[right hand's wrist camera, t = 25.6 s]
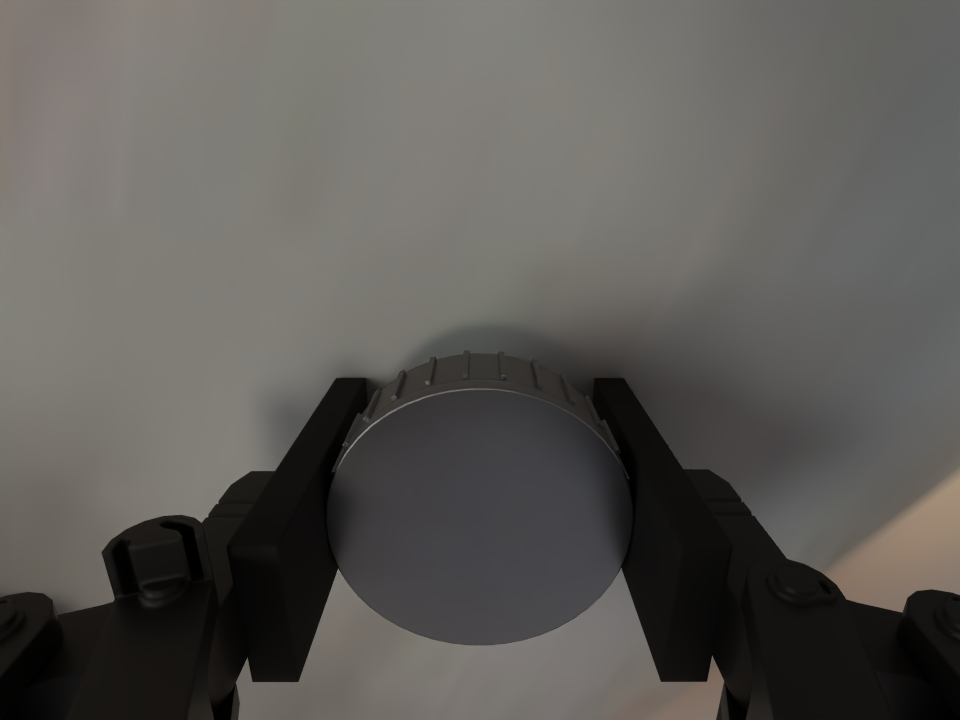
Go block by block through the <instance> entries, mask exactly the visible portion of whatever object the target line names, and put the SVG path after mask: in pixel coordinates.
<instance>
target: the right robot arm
mask: <svg viewBox="0 0 960 720" xmlns="http://www.w3.org/2000/svg"><path fill="white" fill-rule="evenodd" d="M593 406H594V408H595V410H596V412H597V414H598V416H599V418H600V420H601V421H602V420H605V421H606V422H607V425H608V427H609V429H610V431H611V433H612V435H613V437H614V439H615V441H616V443H617V445H618V448H619V450H620V452H621V453H620V454H619V456H620V458H621V460H622V463H623V465H624V467H625V469H626V471H627V473H628V475H629V478H630V481H631V483H629V484H630V488H631V493H632V498H633V503H634V525H633V533H632V539H631V542H630V546H629V549H628V553H627V556H626V558H625V560H624V562H623V565H622V567H621V568H622V571H623V574H624V576H625V579H626V582H627V585H628V588H629V591H630V594H631V597H632V599H633V602H634V605H635V608H636V611H637V614H638V617H639V620H640V622H641V625H642V628H643V631H644V634H645V637H646V640H647V643H648V646H649V648H650V651H651V654H652V657H653V660H654V663H655V666H656V669H657V671H658V674H659V677H660V680H661V682H707V679H708V674H709V668H710V663H711V658H712V656H713V658H714V660H715V662H716V664H717V666H718V668H719V670H720V673H721V675H722V677H723V679H724V685H723V690H722V694H721V699H720V704H719V709H718V713H717V718H716V720H960V595H957V594H954V593H950V592H944V591H938V590H923V591H916V592H915V593H913V594H912V595H911V596H909V597H908V598H907V601H906V604H905V607H904V610H903V613H901V612H896V611H892V610H887V609H883V608H879V607H874V606H870V605H865V604H861V603H857V602H853V601H850V600H846V599H845V597H844V595H843V594H842V592H841V591H840V589H839V588H838V586H837V585H836V584H835V583H834V582H832V581H831V580H830V579H829V578H827V577H826V576H825V575H824V574H823V573H821V572H819V571H817V570H815V569H813V568H811V567H809V566H807V565H805V564H802V563H799V562H795V561H792V560H789V559H787V558H786V557H785V556H784V554H783V553H782V552H781V550H780V549H779V548H778V546H777V545H776V544H775V543H774V541H773V540H772V539H771V537H770V536H769V535H768V533H767V532H766V531H765V529H764V528H763V527H762V526H761V524H760V523H759V522H758V520H757V519H756V518H755V516H752V515H751V511H750V510H749V509H748V507H747V506H746V505H745V503H744V502H741V498H740V497H739V496H738V494H737V493H736V492H735V490H734V489H733V488H732V486H731V485H730V484H729V483H728V482H727V481H725V480H724V479H722V478H721V477H719V476H718V475H716V474H715V473H713V472H712V471H710V470H709V469H683V468H682V467H681V465H680V464H679V462H678V461H677V459H676V458H675V456H674V455H673V453H672V451H671V450H670V448H669V447H668V445H667V444H666V442H665V441H664V439H663V438H662V436H661V435H660V433H659V432H658V430H657V429H656V427H655V425H654V424H653V422H652V421H651V419H650V418H649V416H648V415H647V413H646V412H645V410H644V409H643V407H642V406H641V404H640V402H639V401H638V399H637V398H636V396H635V395H634V393H633V392H632V390H631V389H630V387H629V386H628V384H627V383H626V381H625V380H624V378H594V391H593ZM366 408H367V393H366V381H365V378H336V379H335V381H334V382H333V384H332V385H331V387H330V388H329V390H328V391H327V393H326V395H325V396H324V398H323V399H322V401H321V402H320V404H319V405H318V407H317V408H316V410H315V411H314V413H313V414H312V416H311V417H310V419H309V420H308V422H307V424H306V425H305V427H304V428H303V430H302V431H301V433H300V434H299V436H298V437H297V439H296V440H295V442H294V443H293V445H292V446H291V448H290V449H289V451H288V453H287V454H286V456H285V457H284V459H283V460H282V462H281V463H280V465H279V466H278V468H277V469H276V471H251V472H249V473H248V474H246V475H245V476H243V477H242V478H240V479H239V480H238V481H236V482H235V483H233V484H232V485H231V486H230V487H229V488H228V489H227V491H226V492H225V493H224V495H223V496H222V497H221V499H220V500H219V504H216V505H215V507H214V508H213V509H212V510H211V512H210V513H209V516H208V518H205V520H204V521H203V522H202V523H201V522H199V521H198V520H197V519H196V518H193V517H188V516H184V515H173V516H162V517H158V518H155V519H151V520H147V521H144V522H141V523H139V524H137V525H135V526H133V527H130V528H128V529H126V530H125V531H123V532H122V533H120V534H119V535H118V536H116V537H115V538H113V539H112V540H111V541H110V542H109V543H108V545H107V546H106V547H105V548H104V550H103V551H102V556H103V559H104V562H105V566H106V569H107V573H108V576H109V580H110V583H111V586H112V590H113V593H114V597H115V599H114V602H112V603H108V604H105V605H101V606H96V607H92V608H87V609H83V610H79V611H74V612H70V613H65V614H61V615H57V612H56V609H55V607H54V604H53V601H52V600H51V599H50V598H49V597H47V596H46V595H45V594H42V593H33V592H25V593H19V594H13V595H7V596H4V597H2V598H0V720H238V714H239V704H240V702H239V696H238V690H237V685H236V681H237V679H238V676H239V674H240V672H241V670H242V668H243V666H244V664H245V661H246V659H247V657H248V661H249V666H250V672H251V677H252V682H299V679H300V676H301V673H302V670H303V667H304V664H305V662H306V659H307V656H308V653H309V650H310V647H311V644H312V641H313V639H314V636H315V633H316V630H317V627H318V624H319V621H320V619H321V616H322V613H323V610H324V607H325V604H326V601H327V598H328V596H329V593H330V590H331V587H332V584H333V581H334V578H335V576H336V573H337V570H338V566H337V564H336V562H335V559H334V557H333V555H332V552H331V549H330V545H329V541H328V537H327V530H326V521H325V512H326V499H327V495H328V490H329V485H330V482H331V480H332V477H333V476H331V475H330V474H331V471H332V469H333V466H334V464H335V462H336V460H337V458H338V456H339V454H340V452H341V449H342V447H343V446H342V445H343V443H344V441H345V439H346V437H347V434H348V432H349V430H350V428H351V426H352V424H353V422H354V420H355V418H356V416H357V414H358V413H359V414H361V415H362V413H363V412H364V410H365V409H366Z"/></svg>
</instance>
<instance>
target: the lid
mask: <svg viewBox="0 0 960 720" xmlns="http://www.w3.org/2000/svg"><path fill="white" fill-rule="evenodd" d="M342 446H343V447H342V449H341V452H340V454H339V456H338V458H337V460H336V462H335V464H334V466H333V469H332V471H331V474H330V475H331V476H333V477H332V480H331V482H330V485H329V490H328V495H327V499H326V512H325V521H326V530H327V537H328V541H329V545H330V549H331V552H332V555H333V557H334V559H335V562H336V564H337V566H338V569H339V570H340V572H341V573H342V575H343V577H344V578H345V580H346V582H347V583H348V584H349V585H350V587H351V588H352V589H353V590H354V592H355V593H356V594H357V595H358V596H359V597H360V598H361V599H362V600H363V601H364V602H365V603H366V604H367V605H368V606H369V607H370V608H372V609H373V610H374V611H376V612H377V613H378V614H380V615H381V616H382V617H384V618H385V619H387V620H389V621H391V622H392V623H394V624H396V625H397V626H399V627H401V628H404V629H406V630H408V631H410V632H413V633H415V634H418V635H421V636H424V637H427V638H430V639H433V640H438V641H443V642H448V643H454V644H463V645H495V644H506V643H511V642H516V641H521V640H525V639H529V638H532V637H535V636H539V635H542V634H544V633H546V632H549V631H551V630H553V629H556V628H558V627H560V626H562V625H563V624H565V623H567V622H569V621H570V620H572V619H574V618H575V617H577V616H578V615H579V614H581V613H582V612H584V611H585V610H586V609H588V608H589V607H590V606H591V605H592V604H593V603H594V602H595V601H596V600H597V599H598V598H600V597H601V595H602V594H603V593H604V592H605V591H606V589H607V588H608V587H609V586H610V585H611V583H612V582H613V580H614V579H615V577H616V575H617V574H618V572H619V571H620V569H621V567H622V565H623V562H624V560H625V558H626V556H627V553H628V549H629V546H630V542H631V539H632V533H633V525H634V503H633V498H632V493H631V488H630V484H629V483H631V481H630V478H629V475H628V473H627V471H626V469H625V467H624V465H623V463H622V460H621V458H620V456H619V454H620V453H621V452H620V450H619V448H618V445H617V443H616V441H615V439H614V437H613V435H612V433H611V431H610V429H609V427H608V425H607V422H606V421H605V420H602V421H601V420H600V418H599V416H598V414H597V412H596V410H595V408H594V406H593V403H592V401H591V399H590V397H589V396H588V395H586V396H585V397H584V396H583V395H582V394H581V393H580V392H579V391H578V390H577V389H576V388H575V387H573V386H572V385H571V384H569V382H568V380H567V377H566V376H565V375H563V374H562V375H561V377H560V376H558V375H556V374H555V373H553V372H551V371H549V370H548V369H546V368H544V367H541V366H539V365H538V362H537V361H536V360H532V362H529V361H526V360H522V359H518V358H514V357H510V356H504V352H500V351H499V354H498V355H496V354H470V353H469V351H464V354H463V355H455V356H449V357H445V358H441V359H437V360H436V358H435V357H432V358H430V361H429V362H428V363H426V364H423V365H420V366H418V367H416V368H414V369H412V370H410V371H408V372H405V371H404V370H403V371H401V372H400V373H399V376H398V378H397V379H395V380H394V381H393V382H391V383H390V384H389V385H387V386H386V387H385V388H384V389H383V390H382V391H379V390H378V389H377V390H376V391H375V392H374V395H373V397H372V399H371V401H370V404H369V405H368V406H367V408H366V409H365V410H364V412H363V413H362V415H361V414H359V413H358V414H357V416H356V418H355V420H354V422H353V424H352V426H351V428H350V430H349V432H348V434H347V437H346V439H345V441H344V443H343V445H342Z"/></svg>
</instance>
